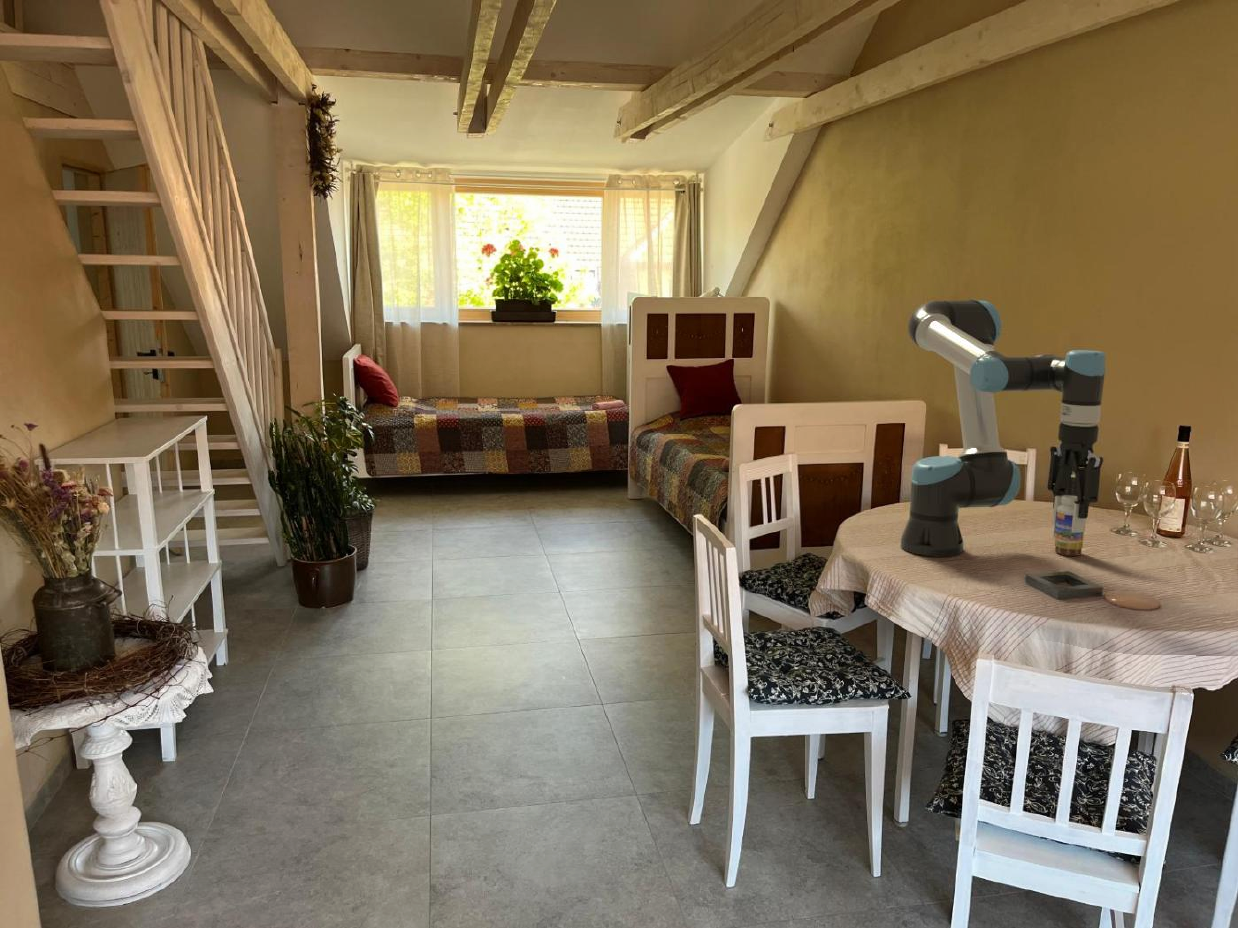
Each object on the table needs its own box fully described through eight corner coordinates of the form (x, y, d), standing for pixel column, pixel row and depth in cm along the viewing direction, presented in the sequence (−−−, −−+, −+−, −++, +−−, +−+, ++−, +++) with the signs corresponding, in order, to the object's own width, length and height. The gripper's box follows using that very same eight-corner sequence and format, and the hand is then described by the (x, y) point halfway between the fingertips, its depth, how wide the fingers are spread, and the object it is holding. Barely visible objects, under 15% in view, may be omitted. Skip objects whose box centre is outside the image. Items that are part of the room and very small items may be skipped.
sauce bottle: (1084, 557, 218) (1093, 479, 214) (1057, 556, 220) (1065, 478, 216) (1077, 549, 225) (1084, 473, 221) (1050, 548, 226) (1057, 472, 222)
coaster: (1094, 595, 192) (1094, 592, 192) (1134, 591, 194) (1134, 589, 194) (1129, 611, 183) (1129, 609, 183) (1170, 608, 185) (1171, 605, 185)
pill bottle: (1049, 540, 194) (1053, 497, 192) (1058, 535, 198) (1062, 493, 196) (1075, 545, 191) (1080, 501, 189) (1084, 540, 194) (1089, 497, 192)
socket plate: (1024, 582, 201) (1025, 574, 200) (1067, 579, 203) (1068, 571, 202) (1057, 599, 190) (1058, 590, 190) (1102, 595, 192) (1103, 586, 192)
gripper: (1035, 417, 197) (1026, 517, 202) (1094, 431, 179) (1082, 541, 184) (1065, 416, 198) (1055, 516, 203) (1126, 429, 181) (1114, 538, 186)
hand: (1068, 527), depth 194 cm, fingers closed on pill bottle, 5 cm apart
